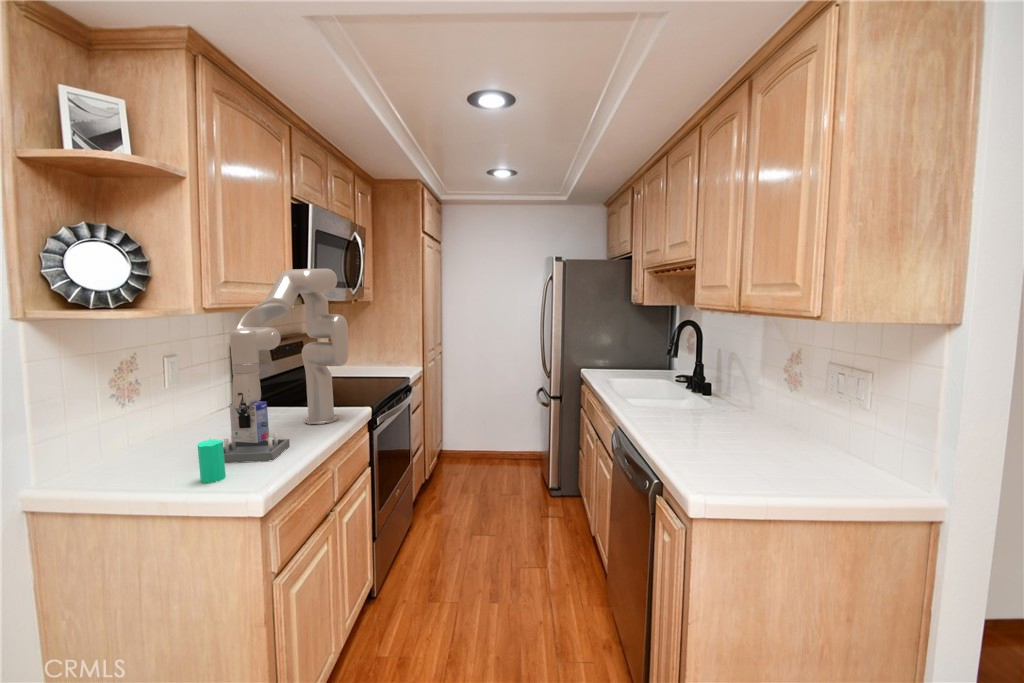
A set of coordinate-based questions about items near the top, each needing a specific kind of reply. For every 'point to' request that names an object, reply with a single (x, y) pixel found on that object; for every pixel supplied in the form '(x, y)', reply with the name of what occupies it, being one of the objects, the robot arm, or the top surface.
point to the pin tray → (254, 450)
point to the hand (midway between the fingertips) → (250, 424)
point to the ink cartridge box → (257, 421)
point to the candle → (211, 461)
